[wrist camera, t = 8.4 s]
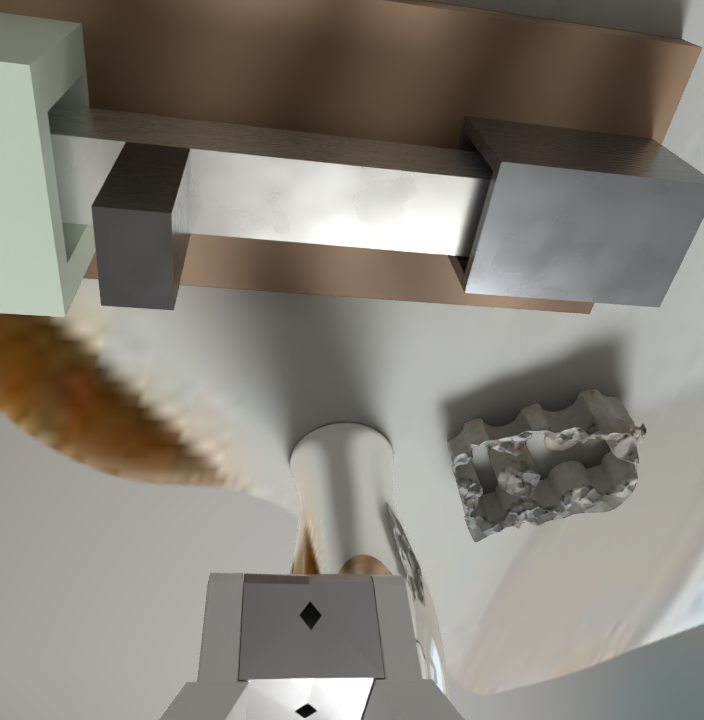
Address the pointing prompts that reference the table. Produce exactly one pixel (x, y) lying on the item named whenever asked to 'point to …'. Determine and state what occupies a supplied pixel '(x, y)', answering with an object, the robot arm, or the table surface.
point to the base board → (364, 103)
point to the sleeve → (578, 214)
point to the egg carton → (565, 481)
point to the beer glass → (360, 524)
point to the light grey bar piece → (249, 193)
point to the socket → (38, 166)
